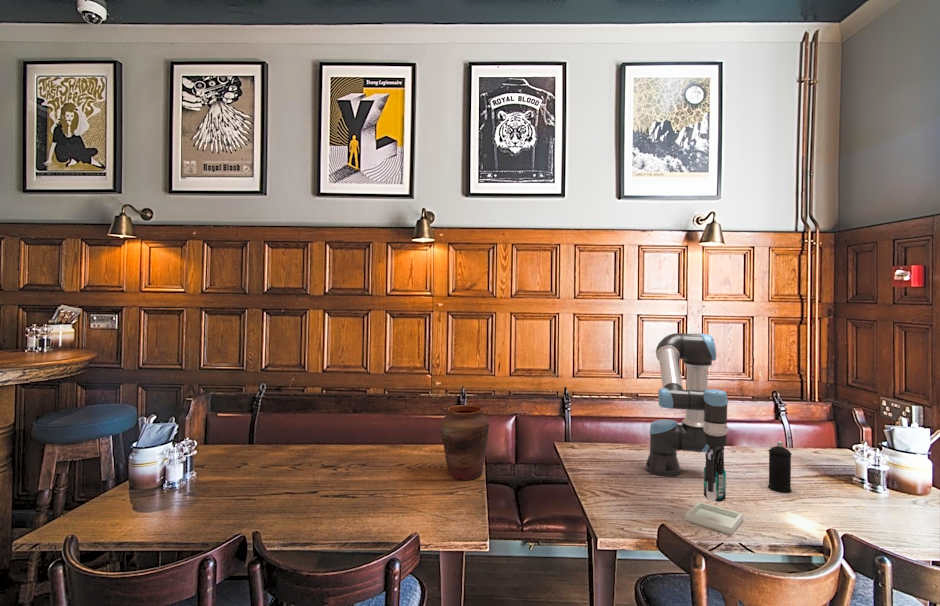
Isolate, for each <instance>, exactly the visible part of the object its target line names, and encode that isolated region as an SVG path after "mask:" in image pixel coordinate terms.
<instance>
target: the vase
mask: <svg viewBox="0 0 940 606" xmlns="http://www.w3.org/2000/svg"><path fill="white" fill-rule="evenodd" d="M489 427H490V419H489V418H488V417H486V416H485V415H484V414H483V408H482V407H481V406H477V405H473V404H469V405H467V404H463V405H462V404H461V405H459V404H458V405H453V406H450V407H448V408H446V415H444V416H443V418H441V420H440V430H441V431H440V432H441V440H442V443H443V450H444V457H445V462H446V466H447V470H448V475H450V476H451V477H450V476H449V477H450V478H452V477H453V478H452V479H454V478H456V479H455V480H458V479H463V480H462V481H468V480H469V481H470V479H471V480H475V479H479V478H481V476H482V475H483V473H484V466H485V465H484V464H485V461H486V460H485V459H486V451H487V444H488V440H489V439H488V438H489Z"/></svg>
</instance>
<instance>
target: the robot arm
mask: <svg viewBox="0 0 940 606" xmlns="http://www.w3.org/2000/svg"><path fill="white" fill-rule="evenodd" d="M655 356H656V359H657V361H658V362H659V368H660V376H661V377H660V378H661V386H662V387H661V388H658V391H657V392H658V393H657V395H658V397H657V399H658V406H659V407H661V408H662V409H663V408H666V409H670V410H671V409H673V410H675V409H676V410H685V418H683V419H682V421H681V424H678V422H677V421H676V420H674V419H657V420H654V421H652V422H651V423H650V424H649V425H650V428H649V454H648V456H647V460H646V463H645V470H646V471H647V472H648V473H650V474H653V475H656V476H660V477H677V476H680V475H681V473H682V471H681V470H682V469H681V466H680V462H679V459H678V451H683V452H684V451H685V452H693V453H694V452H695V453H705V466H706V467H705V466H704V468H705V479H704V478H703V482H704V481H706V482H707V498H706V500H708V501H711V502H716V483H715V476H716V467H717V464H721V465H723V466H724V467H725V454H724V453H725V447H726V446H727V445H728V436H727V433H728V430H729V428H730V427H729V426H728V403H729V400H728V394H727V392H726V391H725V390H722V389H714V388H713V389H711V388H708V384H709V383H708V381H709V380H708V379H709V374H708V373H709V368H710V367H712V365H713V364H712V362H714V361H716V360H717V349H716V343H715V340H714V338H713V336H712V335H711V334H709V333H708V334H707V333H706V334H705V333H677V332H675V333H671V334H667V335H666V336H664V337H663V338H662V339H661V340H660V341H659V343H658V344H657V346H656V350H655ZM679 360H682V361H683V364H684V366H686V389H684V386H683V381H682V375H681V370H680V363H679Z"/></svg>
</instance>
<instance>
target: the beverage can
mask: <svg viewBox="0 0 940 606" xmlns="http://www.w3.org/2000/svg"><path fill="white" fill-rule="evenodd" d="M705 467H706V465H705V466H704V468H703V497H704V498H706V499H707V482H706V481H704V479H705ZM726 479H727V471H726V470H725V465H724V466H723V465H721V464H717V467H716V476H715V483H716V501H715V502H717V503H718V502H719V503H720V502H723V501H725V500H726V498H727V494H726V490H727V489H726V488H727V487H726V486H727V480H726Z"/></svg>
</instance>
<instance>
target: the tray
mask: <svg viewBox="0 0 940 606" xmlns="http://www.w3.org/2000/svg"><path fill="white" fill-rule="evenodd" d="M684 520H685V522H687V521H688V522H687V523H690V522H691V523H690V524H693V523H694V524H693V525H696V524H697V525H696V526H701V527H703V528H706V529H710V530H713V531H716V532H719V533H723V534H725V535H729V536H733V535H734V533H735V531H736V530H737V529H738V528H739V526H740V525H741V524H742V523H743V522H744V513H742V512H739V511H734V510H730V509H727V508H724V507H720V506H716V505H714V504H713V505H712V504H709V503H705V502H702V501H698V502H697V503H696V504H694V506H693V507H691V508H690V509H689V510H688V511H687V512H686V513H685V519H684Z"/></svg>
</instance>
